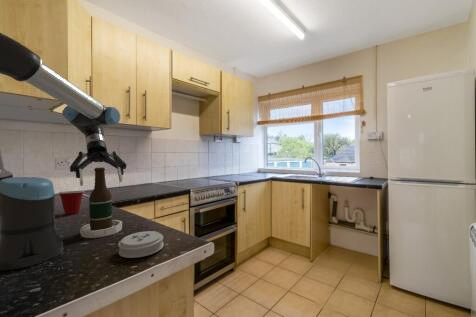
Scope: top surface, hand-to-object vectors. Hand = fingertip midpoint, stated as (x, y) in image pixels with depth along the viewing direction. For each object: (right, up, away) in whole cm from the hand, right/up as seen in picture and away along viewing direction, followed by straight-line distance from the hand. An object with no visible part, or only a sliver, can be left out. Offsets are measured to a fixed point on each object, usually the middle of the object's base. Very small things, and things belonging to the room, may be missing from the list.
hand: (102, 181), depth 89 cm
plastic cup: (-32, -20, +26) cm, 46 cm away
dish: (+2, -19, -3) cm, 19 cm away
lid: (+25, -19, -21) cm, 38 cm away
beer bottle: (+1, -18, -2) cm, 19 cm away
